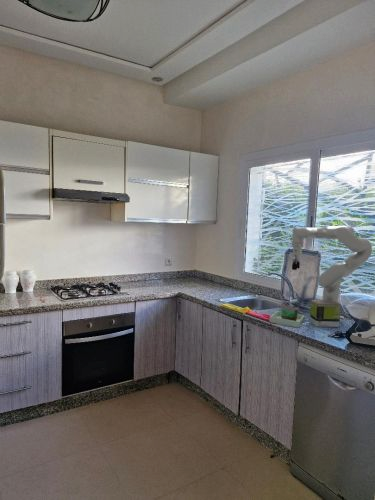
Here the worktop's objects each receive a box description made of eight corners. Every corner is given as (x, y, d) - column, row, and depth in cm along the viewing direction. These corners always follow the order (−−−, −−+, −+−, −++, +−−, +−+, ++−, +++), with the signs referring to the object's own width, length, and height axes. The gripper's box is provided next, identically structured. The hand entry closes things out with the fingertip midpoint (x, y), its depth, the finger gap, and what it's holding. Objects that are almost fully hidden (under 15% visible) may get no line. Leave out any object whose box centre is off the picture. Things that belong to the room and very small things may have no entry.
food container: (275, 319, 223) (276, 304, 222) (280, 317, 228) (281, 302, 227) (293, 324, 215) (295, 308, 214) (298, 322, 219) (299, 306, 218)
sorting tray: (304, 320, 226) (304, 315, 226) (298, 327, 210) (299, 322, 210) (276, 316, 235) (277, 310, 234) (269, 322, 219) (269, 316, 219)
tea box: (332, 322, 225) (334, 300, 224) (339, 327, 215) (341, 304, 214) (309, 321, 224) (310, 299, 223) (315, 326, 214) (317, 303, 213)
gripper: (300, 245, 237) (298, 270, 238) (305, 244, 252) (303, 268, 253) (289, 245, 240) (287, 269, 242) (294, 244, 255) (292, 267, 257)
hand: (295, 269), depth 248 cm, fingers open, 9 cm apart
